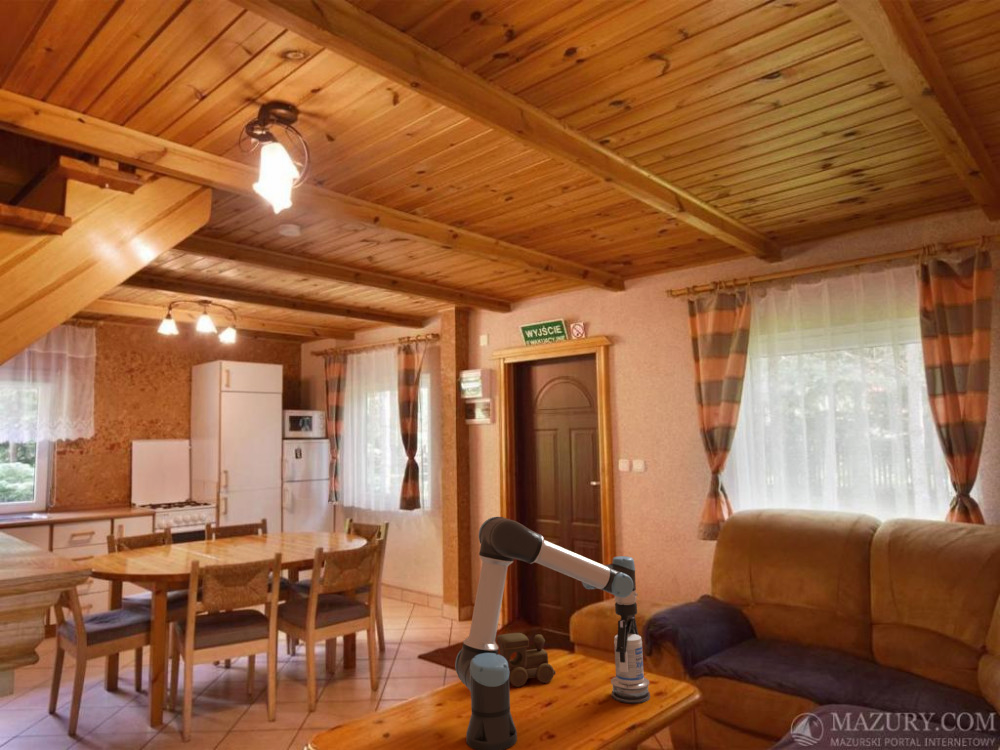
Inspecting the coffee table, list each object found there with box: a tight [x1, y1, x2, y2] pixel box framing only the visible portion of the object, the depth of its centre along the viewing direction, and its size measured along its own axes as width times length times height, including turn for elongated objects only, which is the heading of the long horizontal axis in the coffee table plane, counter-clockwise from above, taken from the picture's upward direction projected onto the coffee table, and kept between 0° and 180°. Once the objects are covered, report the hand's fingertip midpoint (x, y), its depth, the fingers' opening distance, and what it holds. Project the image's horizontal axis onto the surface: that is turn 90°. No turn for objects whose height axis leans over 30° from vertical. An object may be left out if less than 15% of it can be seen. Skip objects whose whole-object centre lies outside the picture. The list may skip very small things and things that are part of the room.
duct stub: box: [610, 676, 651, 705], centre depth 227 cm, size 13×13×5 cm
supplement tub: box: [613, 634, 645, 685], centre depth 228 cm, size 10×10×15 cm
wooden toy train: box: [496, 632, 556, 688], centre depth 246 cm, size 20×11×17 cm, turn 106°
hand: (629, 665), depth 227 cm, fingers open, 13 cm apart
